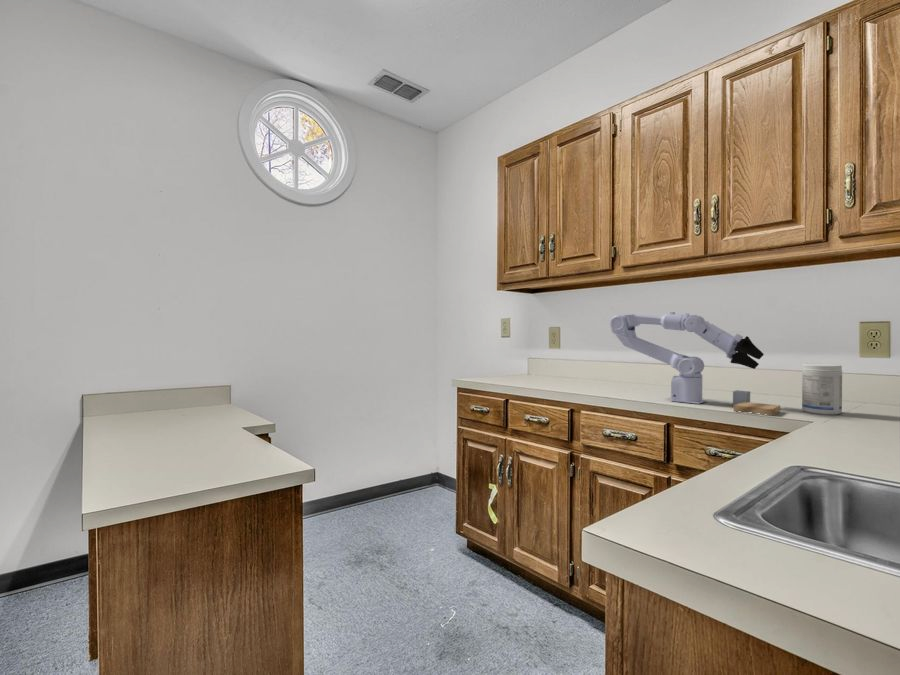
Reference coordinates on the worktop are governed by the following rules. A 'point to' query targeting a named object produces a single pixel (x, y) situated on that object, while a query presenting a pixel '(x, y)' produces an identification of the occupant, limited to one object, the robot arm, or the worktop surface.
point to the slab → (757, 408)
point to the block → (740, 397)
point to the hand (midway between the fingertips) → (759, 361)
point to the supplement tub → (822, 388)
